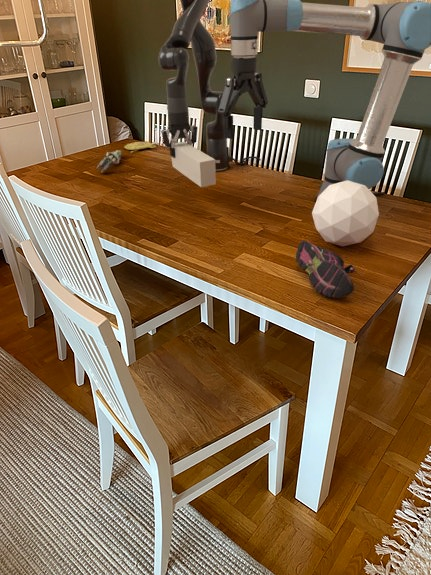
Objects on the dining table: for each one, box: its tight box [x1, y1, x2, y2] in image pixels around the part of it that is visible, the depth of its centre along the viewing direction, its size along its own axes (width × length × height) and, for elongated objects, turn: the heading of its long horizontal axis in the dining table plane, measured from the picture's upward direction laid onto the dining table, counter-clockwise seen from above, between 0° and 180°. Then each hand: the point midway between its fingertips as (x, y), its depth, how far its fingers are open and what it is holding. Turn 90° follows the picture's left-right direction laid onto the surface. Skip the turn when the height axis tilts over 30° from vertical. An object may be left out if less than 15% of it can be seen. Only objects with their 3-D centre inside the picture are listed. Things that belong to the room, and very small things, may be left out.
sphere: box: [311, 180, 380, 248], centre depth 135 cm, size 19×20×20 cm
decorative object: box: [124, 141, 157, 154], centre depth 239 cm, size 21×2×20 cm
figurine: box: [96, 150, 123, 174], centre depth 213 cm, size 7×8×30 cm
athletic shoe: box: [295, 240, 357, 299], centre depth 118 cm, size 11×22×12 cm
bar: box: [171, 141, 217, 188], centre depth 162 cm, size 27×6×9 cm, turn 26°
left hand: (181, 155), depth 170 cm, fingers closed on bar, 6 cm apart
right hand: (243, 133), depth 137 cm, fingers open, 13 cm apart
